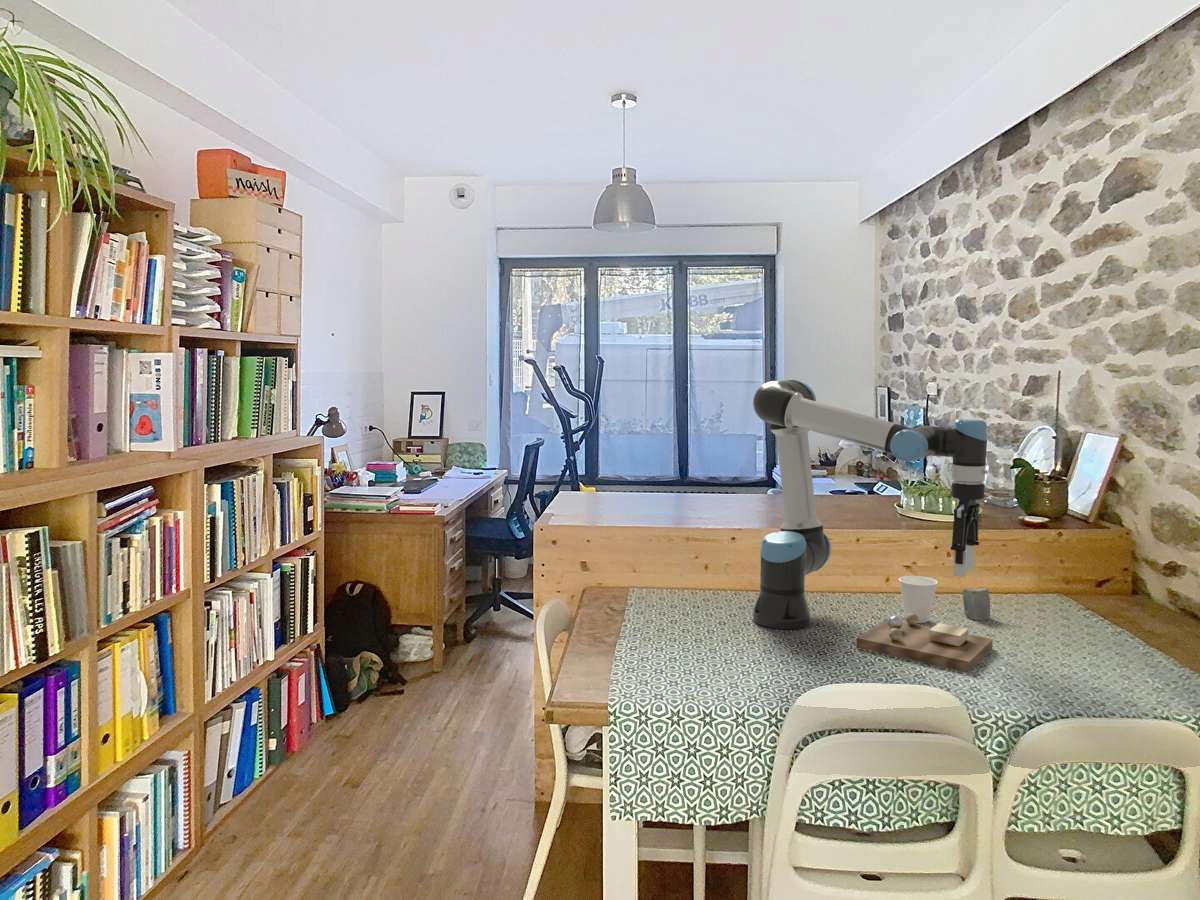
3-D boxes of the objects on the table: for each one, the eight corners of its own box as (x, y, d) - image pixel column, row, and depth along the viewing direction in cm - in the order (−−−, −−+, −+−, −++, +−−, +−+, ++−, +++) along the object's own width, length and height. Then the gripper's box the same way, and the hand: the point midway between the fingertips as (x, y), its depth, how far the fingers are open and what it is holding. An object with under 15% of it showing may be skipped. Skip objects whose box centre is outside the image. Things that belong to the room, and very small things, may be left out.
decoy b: (904, 625, 213) (904, 613, 213) (908, 622, 216) (908, 610, 215) (916, 627, 212) (916, 615, 211) (919, 624, 214) (920, 613, 214)
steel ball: (885, 630, 209) (885, 616, 209) (890, 626, 212) (890, 613, 212) (899, 633, 207) (899, 619, 207) (904, 629, 210) (904, 616, 209)
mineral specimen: (997, 614, 229) (996, 587, 227) (979, 626, 225) (978, 598, 223) (972, 606, 235) (971, 580, 233) (954, 618, 231) (953, 591, 229)
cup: (939, 626, 220) (941, 586, 219) (900, 624, 222) (901, 584, 221) (932, 615, 230) (934, 576, 229) (894, 613, 232) (896, 574, 231)
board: (856, 647, 204) (856, 637, 203) (885, 627, 219) (886, 618, 219) (968, 672, 187) (969, 661, 187) (992, 649, 203) (992, 639, 203)
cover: (928, 640, 201) (929, 630, 201) (938, 632, 206) (938, 623, 206) (959, 646, 196) (959, 636, 196) (967, 638, 202) (968, 628, 202)
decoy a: (886, 640, 201) (887, 628, 201) (891, 637, 203) (891, 625, 203) (899, 643, 199) (899, 631, 199) (903, 640, 202) (904, 628, 201)
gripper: (972, 488, 196) (968, 584, 198) (994, 479, 211) (990, 568, 213) (939, 485, 200) (935, 578, 203) (963, 476, 216) (959, 563, 218)
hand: (963, 573), depth 208 cm, fingers open, 7 cm apart
